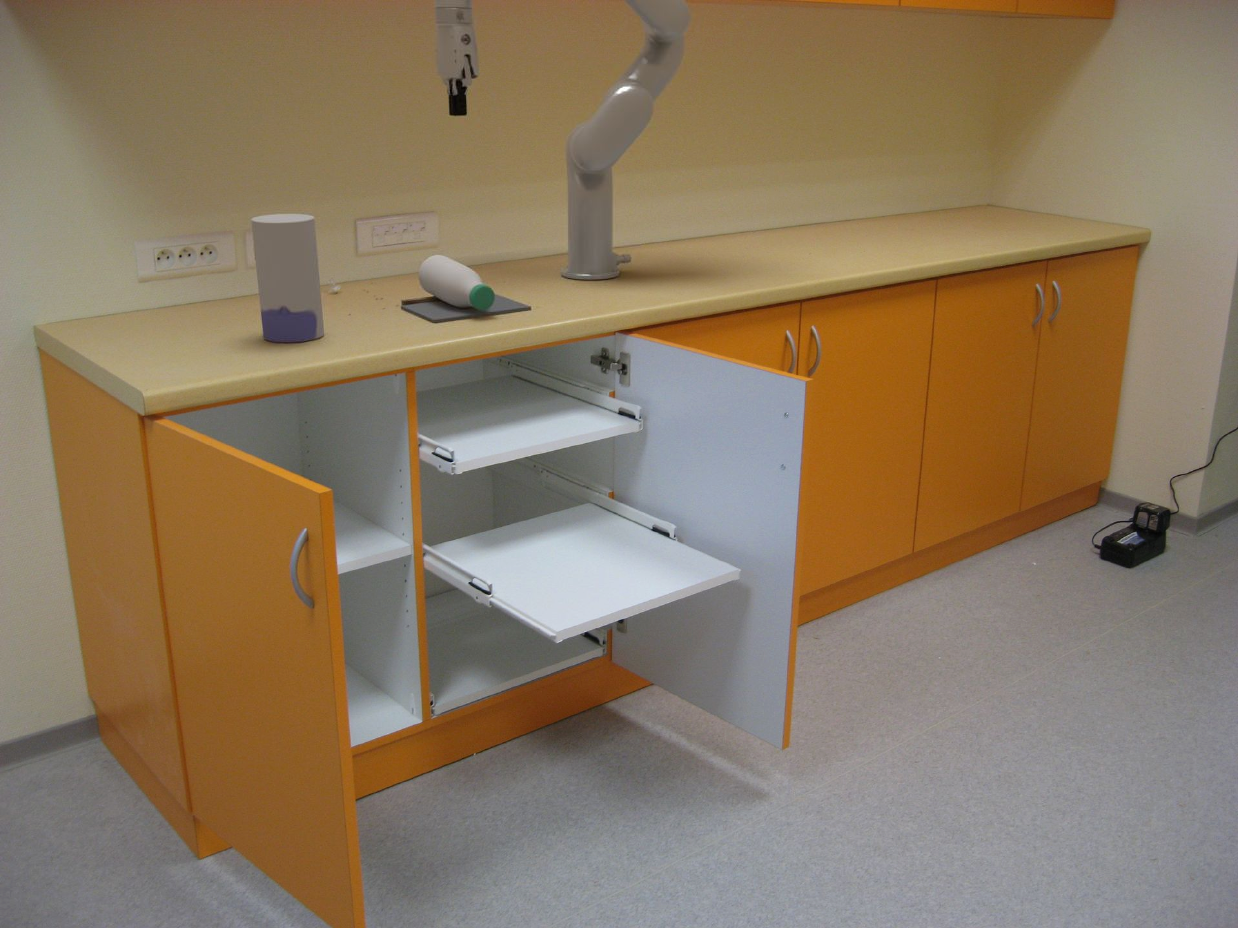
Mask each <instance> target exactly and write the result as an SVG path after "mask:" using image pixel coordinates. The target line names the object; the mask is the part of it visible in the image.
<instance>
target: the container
mask: <svg viewBox="0 0 1238 928" xmlns="http://www.w3.org/2000/svg"><path fill="white" fill-rule="evenodd" d="M250 221H251V230H252V240H253V250H254V259H255V268H256V269H255V270H256V279H257V290H258V297H259V299H258V300H259V307H260V317H261V326H262V335H263V336H262V337H263V339H265V340H267V341H268V342H269V341H270V342H275V343H298V342H299V343H300V342H306V341H307V342H308V341H313V340H316V339H319V338H321V337H323V336H324V335H325V329H324V328H325V327H324V315H323V314H324V313H323V304H322V292H321V281H320V279H321V278H320V269H319V257H318V248H317V247H318V245H317V243H318V242H317V235H316V223H315V222H316V221H315V216H313V215H311V214H310V215H309V214H303V213H302V214H301V213H276V214H274V213H273V214H265V215H260V216H259V215H258V216H255V217H252V218H251V220H250Z"/></svg>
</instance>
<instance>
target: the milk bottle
mask: <svg viewBox="0 0 1238 928" xmlns="http://www.w3.org/2000/svg"><path fill="white" fill-rule="evenodd" d="M418 281H419V284H420V286H421V288H422V289H423V290H424V291H425V292H427V294H429V295H430V296H431V295H432V296H435V297H437V298H439V299H441V300H443V301H445V302H447V303H449V304H451V305H453V306H456V307H460V308H468V307H474V308H476V309H478V310H486V309H488V308H490V307H491V306H492V304H493V303H494V299H495V294H496V293H495V291H494V290H493V288H492V287H491V286H489V285H487V284H485V283H484V282H483V280H482V278H481V276H480V275H479V274H478V273H477V271H475V270H474V269H472V268H470V267H468V266H466V265H464V264H462V263H460V262H458V261H456V260H454V259H452V258H449V257H448V256H445V255H442V254H435V255H432V256H429V257H427V259H425V260H424V261H423V262H422V264H421V265H420V267H419V270H418Z"/></svg>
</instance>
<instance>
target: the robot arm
mask: <svg viewBox="0 0 1238 928" xmlns="http://www.w3.org/2000/svg"><path fill="white" fill-rule="evenodd" d="M623 1H624V2H625V3H626V4H627V6H628V7H629V8H631V10H632V11H633V12H634V13H635V14H636V15H637V16H638V17H639V18H640V20H641V24H642V28H643V31H644V43H643V46H642V48H641V50H640V52H639V53H638V54H637V56H636V57H635V58H634V59H633V61H632V62H631V64H630V65H629V66H628V67H627V69H626V70H625V71H624V72H623V73H622V74H621V75H620V77H618V79H617V80H616V81H615V83H613V84H612V85H611V86H610V87H609V89H607V91H606V92H605V94H604V96H603V99H602V105H600V107H599V108H598V109H597V111H596V112H595V113H594V114H593V115H592V116H591V118H590V119H589V120H588V121H583V122H581V123H578V124H576V125H575V126H574V128H572V130H571V131H570V132H569V133H568V135H567V139H566V144H565V162H566V163H565V164H566V175H567V179H566V180H567V250H568V251H567V253H568V255H567V258H568V259H567V261H568V265H566V266H564V267H562V268H561V269H560V275H561V276H563V277H564V278H568V279H574V280H584V281H585V280H586V281H587V280H588V281H589V280H590V281H592V280H595V281H597V280H598V281H599V280H607V279H612V278H613V279H614V278H617V277H618V276H620V275H621V274H620V268H619V267H618V266H619V265H620V264H629V263H631V261H632V256H631V254H630V253H626V254H625V253H624V254H618V253H617V252H613V250H614V249H613V244H614V243H613V241H614V240H613V239H614V238H613V237H614V236H613V232H614V231H613V220H614V219H613V215H614V214H613V211H614V210H613V207H614V205H613V204H614V203H613V201H614V190H613V189H614V183H613V182H614V181H613V178H614V177H613V166H615V164H616V163H617V162H618V161H619V160H620V159H621V157H623V155H624V154H625V153H626V152H627V151H628V150H629V148H631V146H632V145H633V144H634V142H635V141H636V140H637V139H638V138H639V137H640V136H641V134H642V133H643V132H644V130H645V129H646V128H647V127H648V125H649V123H650V122H651V121H652V118H653V115H654V110H655V102H656V101H657V100H658V99H659V97H660V96H661V95H662V93H663V92H664V90H666V88H667V87H668V86H669V85H670V83H671V82H672V80H673V79H674V77H675V76H676V75H677V73H678V71H679V69H680V68H681V65H682V63H683V60H684V56H685V54H684V53H685V48H686V47H685V46H686V38H685V34H686V32H687V31H688V29H689V27H690V24H691V17H692V16H691V10H690V8H689V5H688V3H687V1H686V0H623ZM473 2H474V1H473V0H433V3H434V4H433V5H434V6H433V7H434V9H433V10H434V22H435V23H434V26H435V27H436V38H435V40H436V42H435V45H436V47H435V51H436V52H435V53H436V55H435V56H436V57H435V59H436V71H437V75H438V76H439V77H440V78H441V81H442V84H443V85H445V87H446V92H447V96H448V114H449V116H452V117H461V116H462V117H463V116H464V117H466V116H467V115H468V107H467V105H468V104H467V95H468V87H470V86H472V84H473V80H475V79H477V78H479V75H480V69H479V67H480V66H479V53H478V52H479V51H478V45H477V37H476V31H475V27H474V9H473V8H474V3H473ZM472 79H473V80H472Z"/></svg>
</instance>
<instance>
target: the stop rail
mask: <svg viewBox="0 0 1238 928" xmlns="http://www.w3.org/2000/svg"><path fill="white" fill-rule="evenodd" d="M434 301H442V300H441V299H439V298H437V297H435V296H433V295H432V296H431V295H430V296H423V297H416V298H409V299H401V306H403V305H411V304H419V303H427V302H434Z"/></svg>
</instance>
